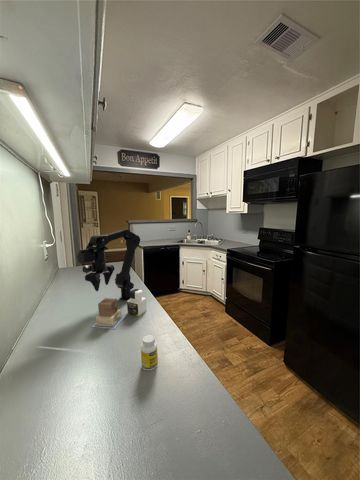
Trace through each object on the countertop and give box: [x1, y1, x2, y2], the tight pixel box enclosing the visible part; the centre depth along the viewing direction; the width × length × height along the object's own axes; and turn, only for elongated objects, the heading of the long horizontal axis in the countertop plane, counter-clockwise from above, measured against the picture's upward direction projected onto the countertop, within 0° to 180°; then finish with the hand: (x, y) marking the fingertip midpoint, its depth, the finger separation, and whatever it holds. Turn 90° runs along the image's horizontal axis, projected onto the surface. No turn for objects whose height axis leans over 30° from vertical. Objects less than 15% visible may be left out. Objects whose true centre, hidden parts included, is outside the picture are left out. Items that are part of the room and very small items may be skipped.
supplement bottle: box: [140, 334, 159, 371], centre depth 67 cm, size 5×5×10 cm
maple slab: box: [95, 309, 122, 327], centre depth 95 cm, size 8×8×4 cm
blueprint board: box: [90, 314, 127, 330], centre depth 95 cm, size 12×12×1 cm
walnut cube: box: [97, 297, 119, 317], centre depth 94 cm, size 6×6×6 cm
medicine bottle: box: [126, 288, 148, 317], centre depth 103 cm, size 7×7×12 cm
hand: (102, 287), depth 107 cm, fingers open, 9 cm apart
